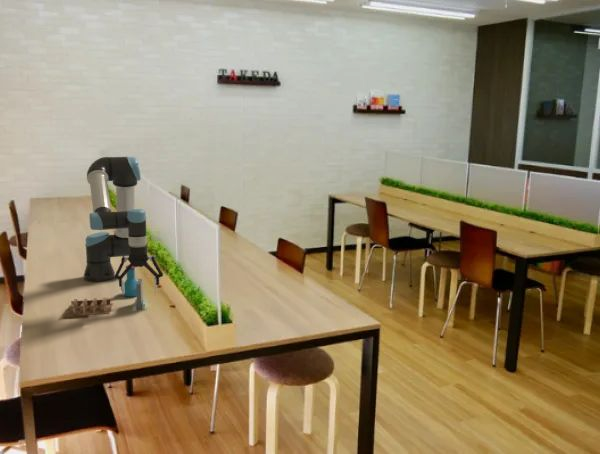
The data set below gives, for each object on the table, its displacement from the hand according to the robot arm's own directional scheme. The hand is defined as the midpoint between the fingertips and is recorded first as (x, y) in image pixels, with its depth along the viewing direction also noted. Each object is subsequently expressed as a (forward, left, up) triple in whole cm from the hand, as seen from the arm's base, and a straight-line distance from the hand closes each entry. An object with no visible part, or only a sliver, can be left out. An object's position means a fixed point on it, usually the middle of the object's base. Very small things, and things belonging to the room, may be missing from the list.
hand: (139, 293), depth 240 cm
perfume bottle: (-17, -5, -7) cm, 19 cm away
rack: (+1, -21, -7) cm, 22 cm away
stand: (0, 0, -7) cm, 7 cm away
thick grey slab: (0, 0, -6) cm, 6 cm away
